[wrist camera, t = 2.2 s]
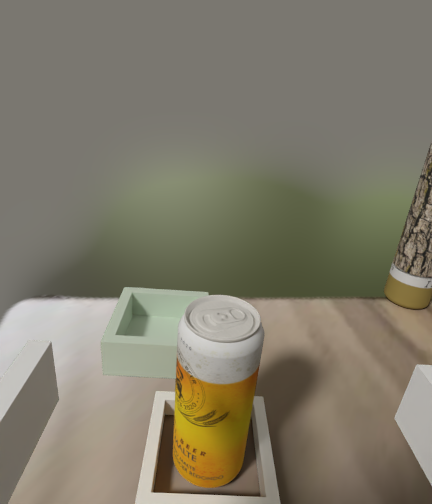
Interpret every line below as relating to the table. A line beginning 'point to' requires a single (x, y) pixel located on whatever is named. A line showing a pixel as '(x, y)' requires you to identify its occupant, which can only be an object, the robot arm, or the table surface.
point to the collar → (148, 500)
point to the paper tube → (414, 249)
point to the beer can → (215, 387)
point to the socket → (145, 332)
